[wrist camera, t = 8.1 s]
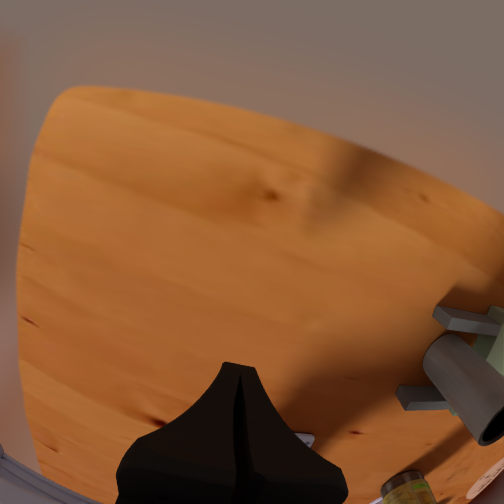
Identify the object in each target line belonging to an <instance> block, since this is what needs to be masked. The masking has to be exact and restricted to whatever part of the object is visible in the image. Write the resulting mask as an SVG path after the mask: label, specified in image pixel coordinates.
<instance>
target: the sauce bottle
mask: <svg viewBox="0 0 504 504" xmlns="http://www.w3.org/2000/svg"><path fill="white" fill-rule="evenodd" d="M381 496H382V499H383V504H437V502H436V500H435V497H434V495H433V493H432V491H431V489H430V487H429V484H428V482H427V481H426V480H425V479H424V476H423V474H422V473H421V472H418V471H409V472H405V473H402V474H400V475H397V476H395V477H393V478H392V479H390V480H389V481H388V482H386V483H385V484H384V485H383V486H382V488H381Z"/></svg>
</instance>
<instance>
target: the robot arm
mask: <svg viewBox="0 0 504 504" xmlns="http://www.w3.org/2000/svg"><path fill="white" fill-rule="evenodd" d="M314 440H315V438H314V435H312V434H301V433H294V432H293V431H292V430H291V429H290V428H289V427H288V426H287V424H286V423H285V422H284V421H283V419H282V418H281V416H280V415H279V414H278V412H277V411H276V409H275V407H274V406H273V404H272V403H271V401H270V399H269V397H268V395H267V393H266V392H265V390H264V388H263V385H262V383H261V381H260V379H259V376H258V374H257V371H256V369H255V368H254V367H250V366H245V365H240V364H235V363H230V362H224V363H222V367H221V369H220V371H219V373H218V375H217V377H216V378H215V380H214V381H213V383H212V384H211V385H210V387H209V388H208V389H207V390H206V392H205V393H204V394H203V395H202V396H201V397H200V398H199V399H198V400H197V401H196V402H195V403H194V404H193V405H192V406H191V407H190V408H189V409H188V410H187V411H185V412H184V413H183V414H181V415H180V416H179V417H177V418H176V419H175V420H173V421H172V422H170V423H168V424H166V425H165V426H163V427H161V428H160V429H158V430H156V431H154V432H151V433H149V434H147V435H144V436H142V437H140V438H138V439H137V440H136V441H135V442H134V443H133V444H132V445H131V447H130V448H129V449H128V450H127V452H126V453H125V455H124V457H123V458H122V460H121V462H120V464H119V467H118V469H117V472H116V480H117V486H118V492H119V495H118V498H117V500H116V503H115V504H342V503H343V502H344V501H345V500H346V498H347V497H348V488H347V484H346V481H345V478H344V475H343V473H342V470H341V468H339V467H337V466H336V465H334V464H332V463H331V462H329V461H328V460H326V459H324V458H323V457H321V456H320V455H319V454H317V453H316V452H315V451H313V450H312V449H311V448H310V447H311V445H312V444H313V442H314ZM0 504H102V503H100V502H97V501H95V500H92V499H90V498H88V497H85V496H83V495H81V494H78V493H76V492H74V491H72V490H70V489H68V488H65V487H63V486H61V485H59V484H57V483H55V482H53V481H51V480H50V479H48V478H46V477H44V476H42V475H40V474H38V473H37V472H35V471H33V470H31V469H30V468H28V467H26V466H24V465H23V464H21V463H20V462H18V461H16V460H15V459H13V458H11V457H10V456H9V455H7V454H6V453H4V450H3V448H2V446H1V444H0Z"/></svg>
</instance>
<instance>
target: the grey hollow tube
mask: <svg viewBox="0 0 504 504" xmlns="http://www.w3.org/2000/svg"><path fill="white" fill-rule="evenodd" d="M423 370H424V372H425V373H426V375H427V376H428V377H429V379H430V380H431V381H432V382H433V384H434V385H435V386H436V388H437V389H438V390H439V391H440V393H441V394H442V395H443V397H444V398H445V399H446V401H447V402H448V403H449V404H450V406H451V407H452V408H453V410H454V411H455V412H456V414H457V415H458V416H459V418H460V419H461V421H462V422H463V423H464V425H465V426H466V427H467V429H468V430H469V431H470V433H471V434H472V436H473V437H474V438H475V440H476V441H477V443H478V444H479V445H480V446H488V445H490V444H492V443H494V442H496V441H497V440H499V439H500V438H502V437H503V436H504V377H503V376H502V375H501V374H500V373H499V372H498V371H497V370H496V369H495V368H494V367H493V366H492V365H491V364H490V363H488V362H487V361H486V360H485V359H484V358H483V357H482V356H481V355H480V354H479V353H477V352H476V351H475V350H474V349H473V348H472V347H471V346H470V345H469V344H467V343H466V342H465V341H464V340H463V339H462V338H460V337H459V336H458V335H456V334H446V335H444V336H442V337H440V338H438V339H437V340H436V341H435V342H434V343H433V344H432V345H431V346H430V347H429V349H428V350H427V352H426V354H425V356H424V359H423Z"/></svg>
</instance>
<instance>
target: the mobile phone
mask: <svg viewBox="0 0 504 504" xmlns="http://www.w3.org/2000/svg"><path fill="white" fill-rule="evenodd" d="M369 504H383V499H382V497H380V498H378V499H376V500H375V501H373V502H371V503H369Z"/></svg>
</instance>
